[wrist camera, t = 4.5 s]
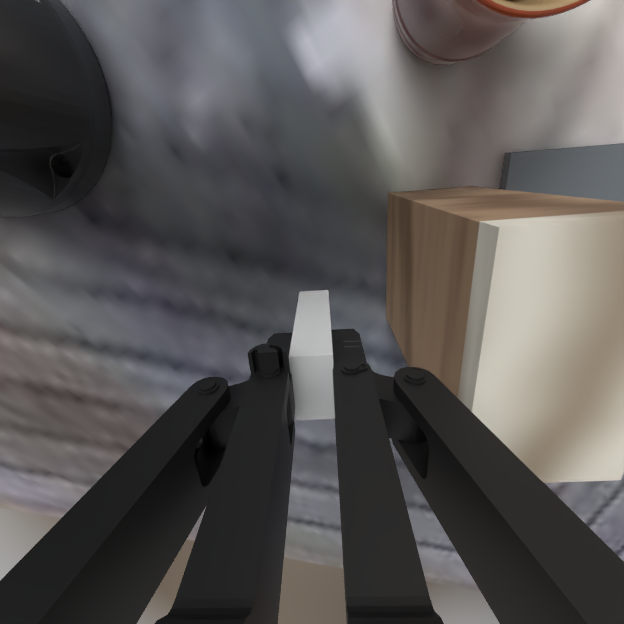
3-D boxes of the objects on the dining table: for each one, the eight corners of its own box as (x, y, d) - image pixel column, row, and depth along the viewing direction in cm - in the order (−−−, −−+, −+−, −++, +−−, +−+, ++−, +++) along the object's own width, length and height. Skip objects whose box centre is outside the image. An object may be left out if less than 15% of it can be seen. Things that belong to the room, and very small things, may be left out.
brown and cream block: (385, 318, 28) (460, 485, 13) (387, 192, 24) (499, 227, 9) (458, 313, 27) (620, 480, 13) (472, 185, 23) (733, 210, 9)
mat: (482, 312, 27) (486, 315, 27) (505, 153, 23) (511, 152, 22) (709, 298, 26) (720, 302, 26) (782, 130, 22) (798, 128, 21)
